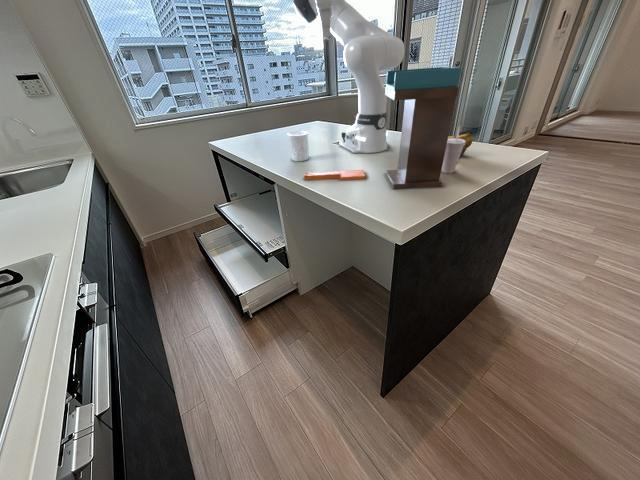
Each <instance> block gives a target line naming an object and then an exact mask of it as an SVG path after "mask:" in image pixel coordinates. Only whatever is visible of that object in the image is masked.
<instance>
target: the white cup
mask: <svg viewBox="0 0 640 480" xmlns="http://www.w3.org/2000/svg"><path fill="white" fill-rule="evenodd" d="M287 137H288V138H287V139H288V143H289V150H290V154H291V158H292V161H294V162H303V161H307V160H309V158H310V156H309V152H310V151H309V150H310V149H309V132H308V131H304V130H298V131H291V132H288V133H287Z"/></svg>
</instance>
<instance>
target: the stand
mask: <svg viewBox="0 0 640 480" xmlns="http://www.w3.org/2000/svg"><path fill="white" fill-rule="evenodd" d="M459 88H460V86H457V87H444V88H429V89H415V90H400V91H394V90H391V89H389V88H387V87H386V86H385V95H386V96H387V98H389V99H391V100H393V101H395V102H396V101H404V107H403V116H402V125H401V133H400V134H401V135H400V143H399V154H398V163H397V169H389V170H388V169H387V170H385V176H386V178H387V180H388V182H389V184H390V186H391V188H392V189H393V190H403V189H420V188H421V189H422V188H423V189H424V188H441V187H442V185H443V181H442V180H441V176H442V175H441V174H442V165H443V160H444V155H445V150H446V146H447V141H448V137H450V130H451V126H452V121H453V115H454V111H455V105H456V100H457V97H458V94H459Z"/></svg>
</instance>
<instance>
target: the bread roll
mask: <svg viewBox="0 0 640 480" xmlns="http://www.w3.org/2000/svg"><path fill="white" fill-rule="evenodd" d="M456 136H457V135H451V136H450V135H449V136H448V139H449V138H456ZM473 138H474V137H473V134H471V133H464V134H463V133H462V134H459V136H458V139H463V140H465V141H466V142H465V145H464V146H463V149H462V151H461V154H460V157H461V156H463V155H464V154H465V153H466V151H467V149H468V148H470V146H471V145H472V144H473V140H474V139H473Z"/></svg>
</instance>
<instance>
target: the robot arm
mask: <svg viewBox="0 0 640 480" xmlns="http://www.w3.org/2000/svg"><path fill="white" fill-rule="evenodd" d="M292 4H293V7H294V10H295V12H296V14H297V16H298V17H299V18H300V19H301V20H302V21H304V22H305V23H308V24H311V23H312V22H313V21H315V20H316V19H317V18H318V19H319V21H321V25H322V35H323V40H324V41H330V40H331V38H332V36H333V37H334V38H335V40H337V41H338V42H339V44H340V45H342V47H343V49H344V50H343V63H344V66H345V68H346V70H348V72H350V74H351V75H352V77H353V79H354V81H355V85H356V89H357V96H358V97H357V98H358V110H357V111H358V113H357V114H353V116H354V117H353V118H354V119H355V121H354V123H353V125H351V127H349V128H348V129H347V130H345V131H342V132H341V139H342V142H340V143H339V146H340V147H341V148H344V149H345V150H347V151H349V152H351V153H353V154H362V153H365V154H373V153H375V154H376V153H381V152H384V151H386V150H388V141H387V136H388V134H389V133H388V132H387V125H386V123H387V121H388V112H387V106H388V104H387V103H388V97H387V96H386V95H385V87H386V85H383V83H382V79H381V76H380V73H381V72H387V71H392V70H393V69H395V68H397V67H399V66H400V64H401V63H402V62H403V59H404V57H405V52H406V51H405V44H404V42H403V40H402V39H401V38H400V37H398V36H395V35H392V34H391V33H389V32H387V31H386V30H384V29H383V28H381V27H379V25H375V24H374V23H372V22H371V21H369V20H367V19H366V18H365V17H364V16H363V15H362V14H361V13H359V11H358V10H357V9H356V8H355V7H354V6H352V5H351V4H350V3H348V1H346V0H292ZM331 35H332V36H331Z"/></svg>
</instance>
